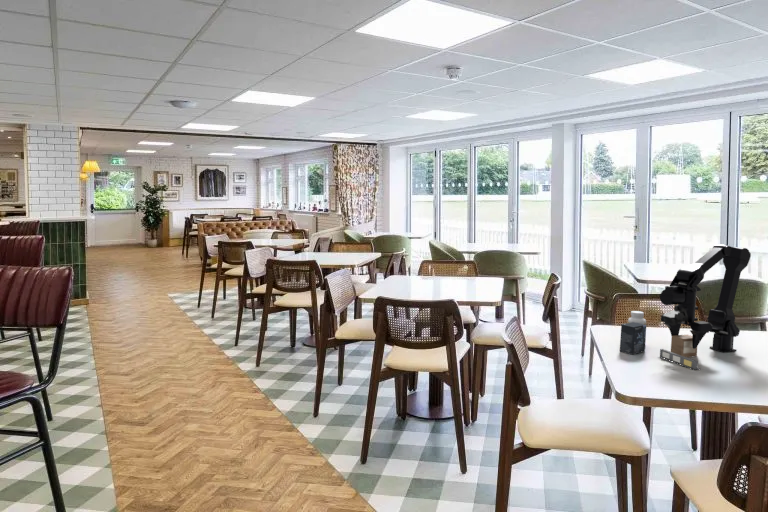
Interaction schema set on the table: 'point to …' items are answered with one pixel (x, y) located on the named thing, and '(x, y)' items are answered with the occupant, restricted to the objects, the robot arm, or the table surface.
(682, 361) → the rail
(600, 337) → the table surface
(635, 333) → the box
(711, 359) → the table surface
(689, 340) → the tea box
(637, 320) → the supplement bottle
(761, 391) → the table surface
